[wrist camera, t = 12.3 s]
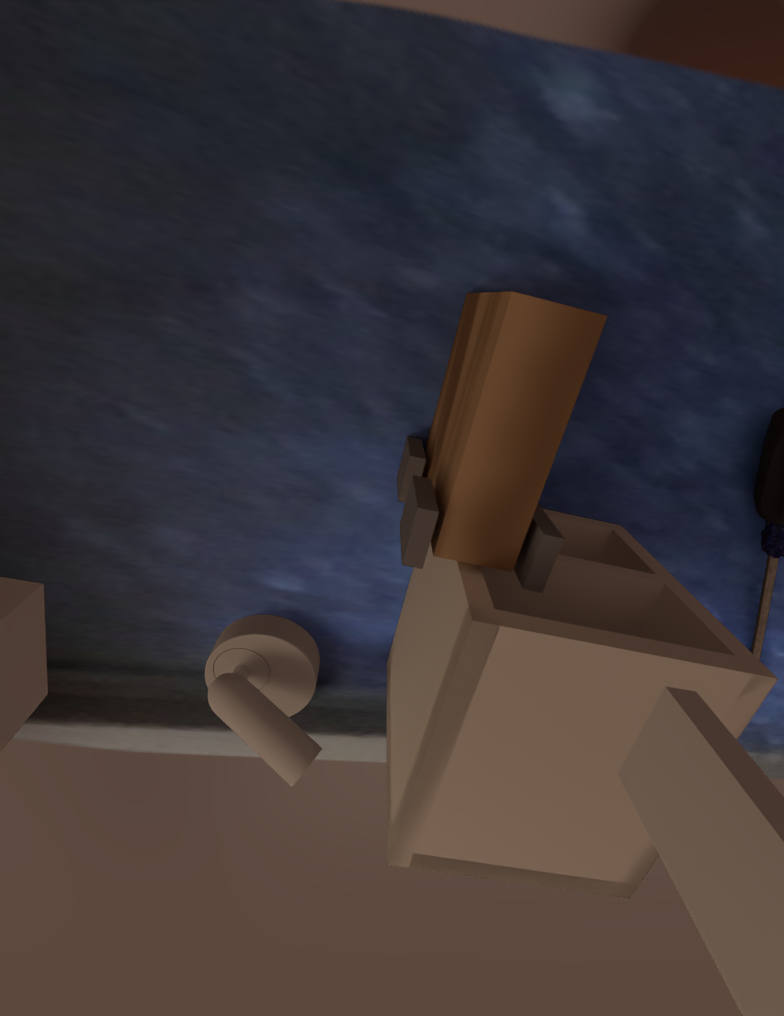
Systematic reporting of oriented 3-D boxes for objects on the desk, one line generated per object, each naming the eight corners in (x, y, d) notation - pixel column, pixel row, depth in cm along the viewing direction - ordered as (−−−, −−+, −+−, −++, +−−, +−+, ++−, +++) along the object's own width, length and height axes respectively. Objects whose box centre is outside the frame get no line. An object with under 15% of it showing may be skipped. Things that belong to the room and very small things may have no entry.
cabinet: (352, 656, 41) (333, 857, 26) (407, 436, 34) (422, 543, 19) (546, 691, 43) (630, 898, 28) (637, 488, 36) (815, 623, 21)
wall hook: (282, 825, 35) (147, 771, 33) (303, 719, 44) (197, 671, 42) (345, 748, 32) (201, 684, 30) (354, 651, 41) (243, 596, 39)
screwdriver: (766, 692, 43) (799, 726, 40) (723, 698, 43) (753, 733, 40) (802, 394, 33) (851, 405, 30) (746, 405, 33) (788, 417, 30)
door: (418, 474, 35) (432, 556, 24) (466, 293, 31) (511, 291, 20) (489, 489, 36) (535, 576, 25) (547, 313, 31) (635, 323, 20)
